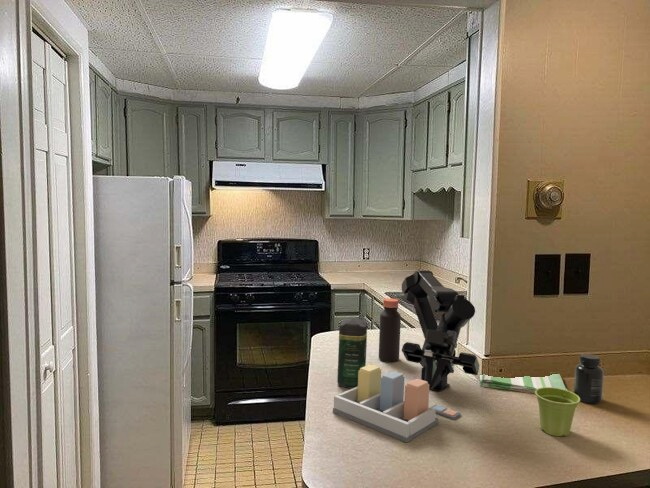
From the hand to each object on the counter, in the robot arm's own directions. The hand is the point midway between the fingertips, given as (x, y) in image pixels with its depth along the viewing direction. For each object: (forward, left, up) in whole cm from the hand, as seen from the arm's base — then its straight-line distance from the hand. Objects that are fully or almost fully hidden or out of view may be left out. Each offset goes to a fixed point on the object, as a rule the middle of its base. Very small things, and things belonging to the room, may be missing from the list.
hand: (430, 388), depth 120 cm
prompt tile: (-2, -5, -7) cm, 9 cm away
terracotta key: (0, +5, -6) cm, 8 cm away
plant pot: (-25, -15, -7) cm, 30 cm away
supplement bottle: (-25, -41, -7) cm, 48 cm away
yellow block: (+14, +5, -6) cm, 16 cm away
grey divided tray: (+7, +8, -7) cm, 13 cm away
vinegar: (+32, -29, -7) cm, 44 cm away
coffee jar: (+27, -3, -7) cm, 29 cm away
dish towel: (-7, -41, -8) cm, 42 cm away
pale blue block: (+7, +5, -6) cm, 11 cm away
